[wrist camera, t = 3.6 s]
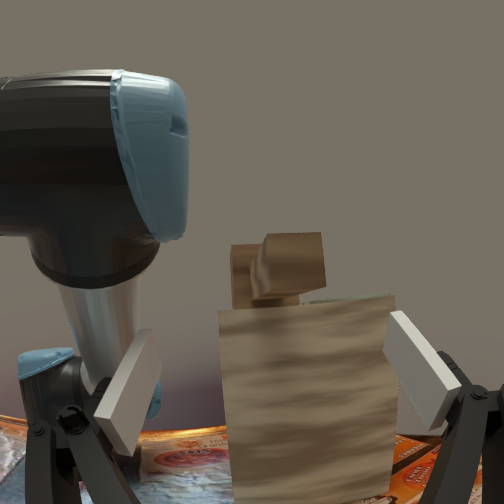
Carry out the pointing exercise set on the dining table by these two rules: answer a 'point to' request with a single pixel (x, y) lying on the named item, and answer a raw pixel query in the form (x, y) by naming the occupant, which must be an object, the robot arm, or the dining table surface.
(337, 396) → the stand
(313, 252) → the mallet
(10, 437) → the dining table surface
